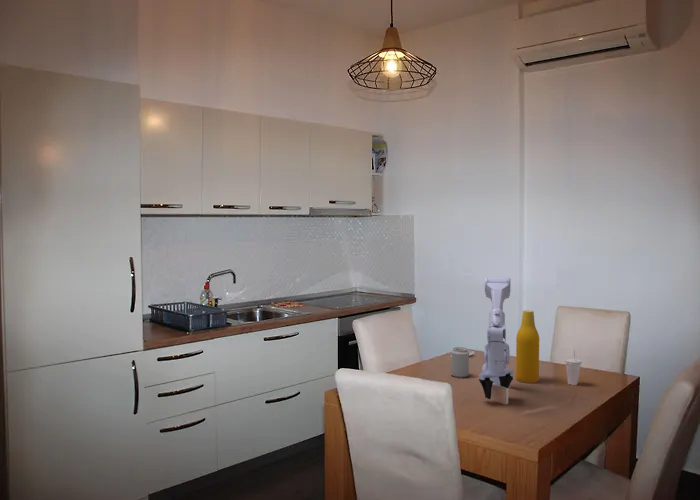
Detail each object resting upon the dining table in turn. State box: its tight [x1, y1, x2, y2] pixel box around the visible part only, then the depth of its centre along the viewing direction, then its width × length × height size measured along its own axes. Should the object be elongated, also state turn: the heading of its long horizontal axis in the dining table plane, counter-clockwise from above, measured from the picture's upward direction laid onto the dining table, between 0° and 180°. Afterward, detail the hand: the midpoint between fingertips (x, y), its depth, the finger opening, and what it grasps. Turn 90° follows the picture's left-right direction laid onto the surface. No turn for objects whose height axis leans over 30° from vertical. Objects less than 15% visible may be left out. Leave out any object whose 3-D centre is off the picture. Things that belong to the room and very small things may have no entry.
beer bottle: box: [515, 310, 540, 384], centre depth 239 cm, size 9×9×29 cm
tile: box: [490, 383, 509, 405], centre depth 209 cm, size 9×2×6 cm, turn 29°
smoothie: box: [564, 349, 582, 386], centre depth 234 cm, size 6×6×14 cm
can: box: [450, 346, 470, 379], centre depth 246 cm, size 8×8×12 cm
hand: (495, 396), depth 210 cm, fingers open, 7 cm apart
